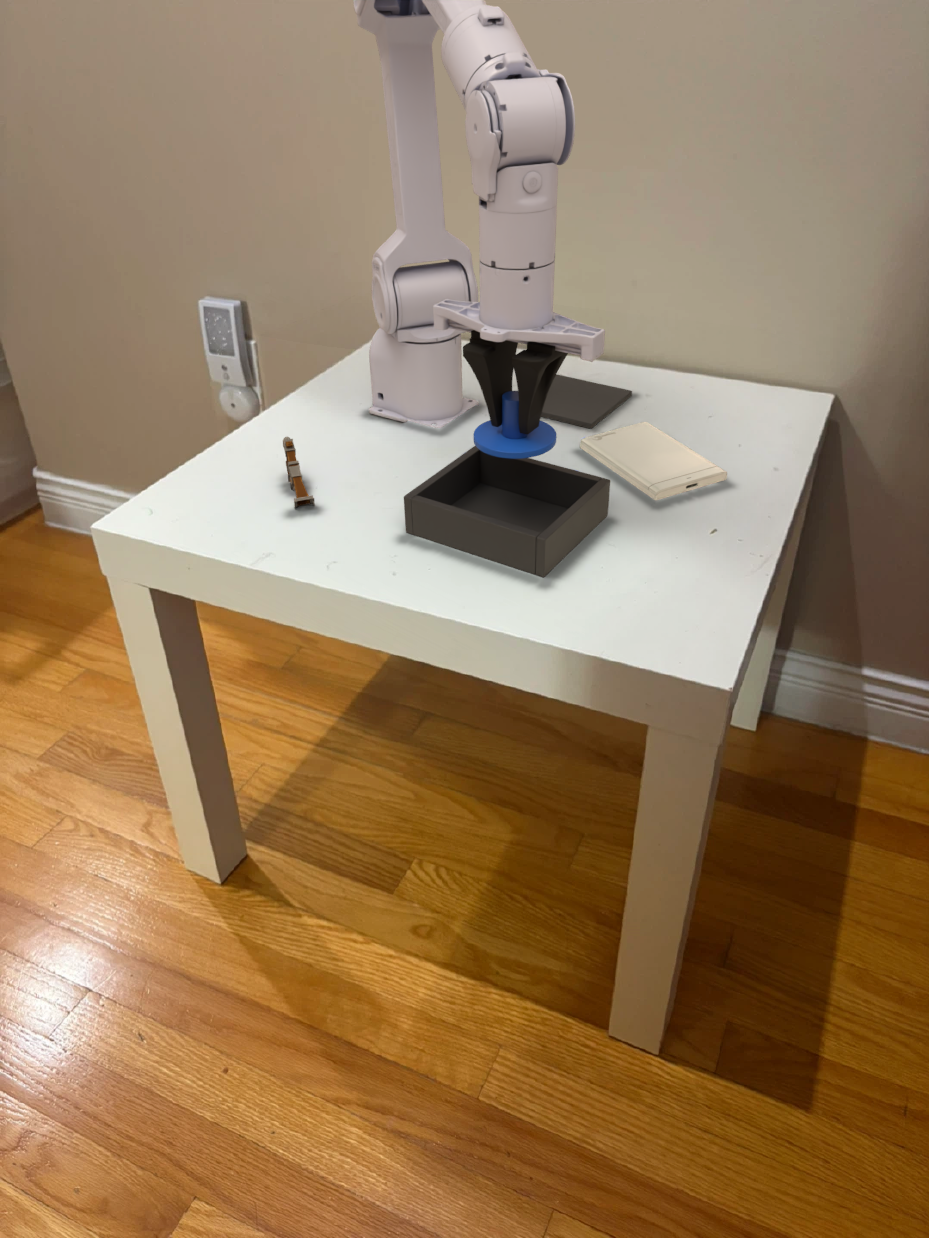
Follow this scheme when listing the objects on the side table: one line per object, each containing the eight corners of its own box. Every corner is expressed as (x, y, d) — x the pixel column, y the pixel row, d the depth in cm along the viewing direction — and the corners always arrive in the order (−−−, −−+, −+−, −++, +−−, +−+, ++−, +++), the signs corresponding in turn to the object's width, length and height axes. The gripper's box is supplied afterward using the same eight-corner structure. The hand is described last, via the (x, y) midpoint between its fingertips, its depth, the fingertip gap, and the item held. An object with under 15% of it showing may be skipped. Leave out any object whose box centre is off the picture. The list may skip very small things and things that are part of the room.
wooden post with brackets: (297, 461, 93) (295, 430, 89) (315, 527, 89) (314, 496, 86) (278, 464, 93) (276, 432, 89) (296, 530, 89) (294, 500, 85)
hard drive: (580, 438, 95) (656, 489, 86) (647, 420, 98) (728, 468, 89) (579, 453, 96) (654, 506, 87) (646, 435, 99) (726, 484, 90)
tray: (405, 538, 83) (403, 496, 81) (477, 483, 91) (476, 443, 88) (543, 583, 77) (545, 540, 75) (607, 521, 85) (610, 479, 82)
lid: (457, 446, 80) (456, 401, 78) (500, 416, 85) (501, 373, 83) (530, 466, 77) (531, 420, 75) (570, 434, 82) (573, 389, 80)
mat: (508, 409, 105) (508, 403, 104) (552, 378, 111) (552, 373, 111) (591, 429, 100) (591, 423, 100) (631, 395, 107) (632, 390, 106)
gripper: (408, 259, 73) (416, 424, 81) (577, 288, 67) (568, 465, 75) (458, 237, 78) (462, 395, 86) (622, 262, 71) (609, 431, 79)
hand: (514, 425), depth 81 cm, fingers closed on lid, 2 cm apart
